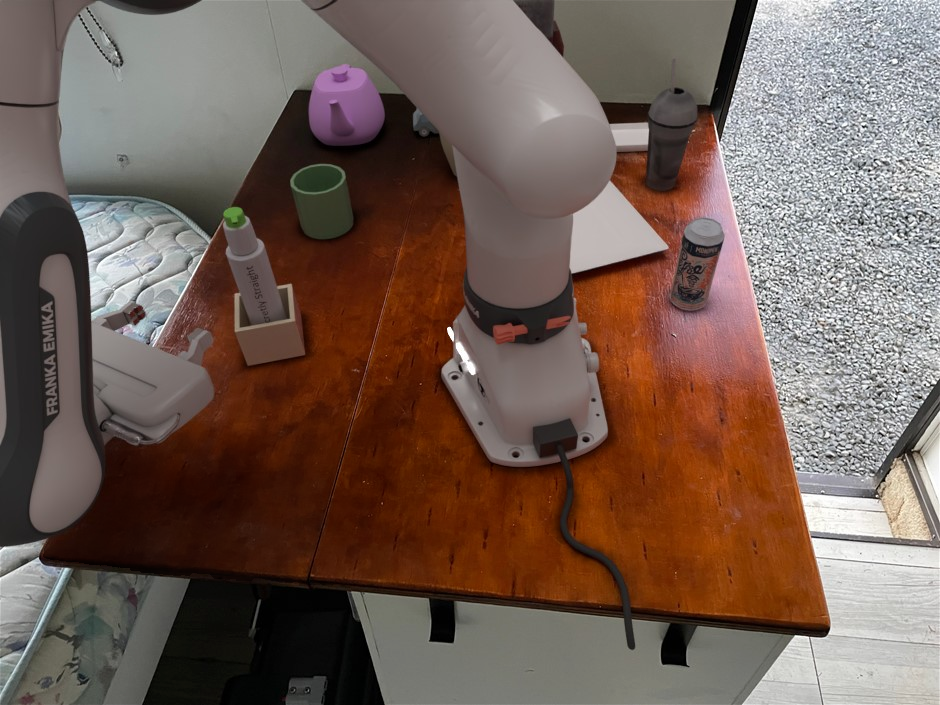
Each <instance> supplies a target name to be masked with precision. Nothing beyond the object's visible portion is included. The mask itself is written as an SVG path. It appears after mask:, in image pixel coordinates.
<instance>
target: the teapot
mask: <svg viewBox="0 0 940 705" xmlns="http://www.w3.org/2000/svg"><path fill="white" fill-rule="evenodd" d="M385 117H386V113H385V108H384V104H383V100H382V98H381V95H380V93H379V91H378V89H377V87H376V86H375V84H374V83H373V81H372V80H371V78H370V76H369V74H368V73H367V72H366V71H365V70H364V69H362V68H359V67H352V66H351V65H350V64H349V63H343V64H340V65H339V66H334V67H333V68H329V69H325V70H323V71H322V72H320V73H319V74H318V76H317V77H316V78H315V80H314V83H313V86H312V90H311V94H310V98H309V102H308V122H309V127H310V130H311V133H312V134H313V135H314V137H315V138H316V139H318V140H319V141H320V142H321V143H322V144H323V145H327V146H332V147H333V146H336V147H344V146H345V147H346V146H347V147H348V146H357V145H364V144H367V143H369V142H372V141H373V140H374V139H375V138H376V137H377V136H378V135H379V133H380V132H381V130H382V127H383V125H384V124H385V119H386V118H385Z"/></svg>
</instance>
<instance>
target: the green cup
mask: <svg viewBox="0 0 940 705" xmlns="http://www.w3.org/2000/svg"><path fill="white" fill-rule="evenodd" d="M289 182H290V189H291V192H292V196H293V200H294V204H295V208H296V212H297V216H298V220H299V224H300V228H301V231H302V232H303V234H304V235H305V236H308V237H309V238H311V239H316V240H331V239H335V238H338V237H342V236H343V235H345V234H346V233H348V232H349V231H350V230H351V229H352V227H353V226H354V222H355V219H354V218H355V217H354V214H353V207H352V204H351V197H350V193H349V192H350V191H349V187H348V182H347V176H346V172H345V170H343V169H342V168H341V167H340V166H338V165H333V164H330V163H317V164H311V165H307V166H305V167H302V168H300V169H299V170H298V171H296V172H295V173H293V174H292V176H291V178H290V180H289Z"/></svg>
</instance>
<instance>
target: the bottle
mask: <svg viewBox="0 0 940 705" xmlns="http://www.w3.org/2000/svg"><path fill="white" fill-rule="evenodd" d="M222 214H223V219H224V222H223V223H222V228H223V232H224V236H225V239H226V242H227V247H226V249H225V255H226V256H225V257H227V261H228V264H229V267H230V270H231V272H232V275H233V278H234V280H235V283H236V286H237V289H238V293H240V295H241V298H242V300H243V303H244V306H245V309H246V312H247V314H248V317H249V320H250V323H251V326H253V325H258V324H264V323H269V322H275V321H280V320H286V319H287V318H286V315H285V311H284V308H283V305H282V301H281V298H280V295H279V292H278V288H277V286H278V285H277V282H276V279H275V276H274V272H273V269H272V265H271V263H270V259H269V255H268V253H267V249H266V245H265V244H264V242H263V241H262V240H261V239H260V238H258V237H257V235H256V233H255V229H254V226H253V225H252V224H253V223H252V221H251V219H250V217H248V216H247V215H245V212H244V211H243V208H241V207H238V206H232V207H228V208H227V209H225V210H224V211H223V213H222Z"/></svg>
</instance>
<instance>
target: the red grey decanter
mask: <svg viewBox="0 0 940 705" xmlns="http://www.w3.org/2000/svg"><path fill="white" fill-rule="evenodd" d="M513 1H514V2H515V3H516V5H517V6H518V7H519V8H520V9H521V10H522V11H523V13H524V14H525V15H526V16H527V17H528V18H529V19H530V21H531V22H532V23H533V24H534V25H535V26H536V28H538V29H539V30H540V31H541V32H542V33H543V34H544V36H545V37H546V38H547V39H548V40H549V42H550V43H551V44H552V45H553V46H554V47H555V49H556V50H557V51H558V52H559V53H560V55H561V56H562V57H563V58H564V56H565V55H564V51H565V44H564V41H563V37H562V34H561V29H560V28H559V26H558V24H557V21H556V20H554V19H555V17H554V16H555V0H513Z"/></svg>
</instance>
